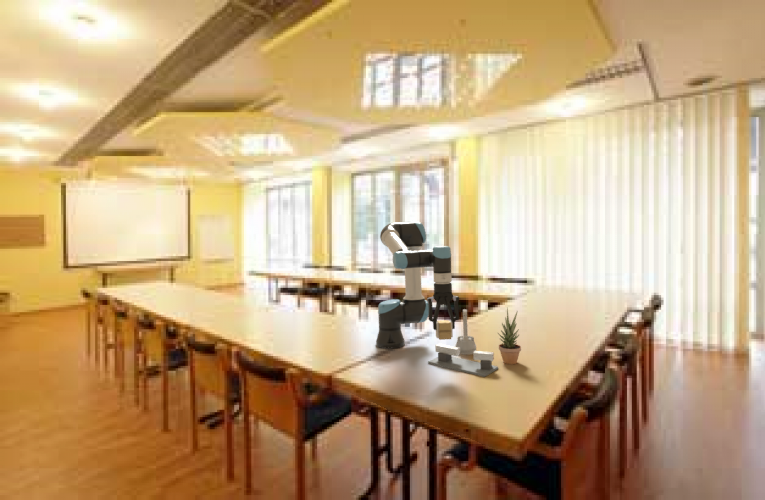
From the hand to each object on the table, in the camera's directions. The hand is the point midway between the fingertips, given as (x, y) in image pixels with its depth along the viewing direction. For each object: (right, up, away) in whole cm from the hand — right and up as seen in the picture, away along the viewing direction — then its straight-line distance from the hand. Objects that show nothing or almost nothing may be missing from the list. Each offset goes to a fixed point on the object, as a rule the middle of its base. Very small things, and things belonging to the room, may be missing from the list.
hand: (444, 336), depth 175 cm
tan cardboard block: (0, 0, 0) cm, 0 cm away
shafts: (+10, -10, +6) cm, 15 cm away
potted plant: (+31, -13, +9) cm, 35 cm away
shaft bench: (+9, -14, +6) cm, 18 cm away
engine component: (+15, -13, +27) cm, 34 cm away
